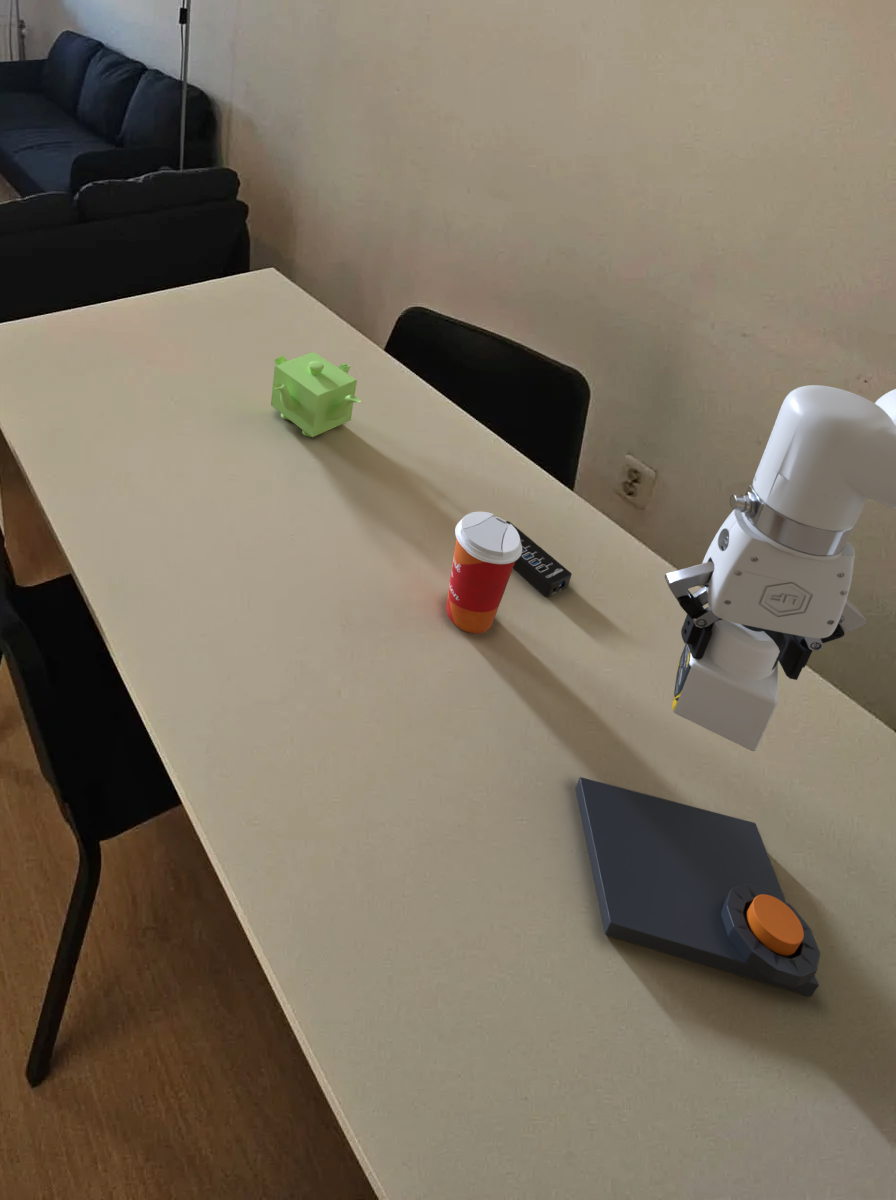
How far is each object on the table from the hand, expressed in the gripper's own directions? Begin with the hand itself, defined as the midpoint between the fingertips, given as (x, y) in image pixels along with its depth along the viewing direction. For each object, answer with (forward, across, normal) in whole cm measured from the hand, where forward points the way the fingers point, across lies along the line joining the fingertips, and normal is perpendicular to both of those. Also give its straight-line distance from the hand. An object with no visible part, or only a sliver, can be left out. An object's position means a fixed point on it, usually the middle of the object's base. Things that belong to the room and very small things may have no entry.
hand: (738, 656), depth 77 cm
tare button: (+13, 0, -17) cm, 21 cm away
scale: (+16, -5, -13) cm, 21 cm away
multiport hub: (+16, -14, +25) cm, 32 cm away
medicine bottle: (+8, 0, 0) cm, 8 cm away
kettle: (+15, -46, +48) cm, 68 cm away
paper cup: (+16, -22, +13) cm, 30 cm away
